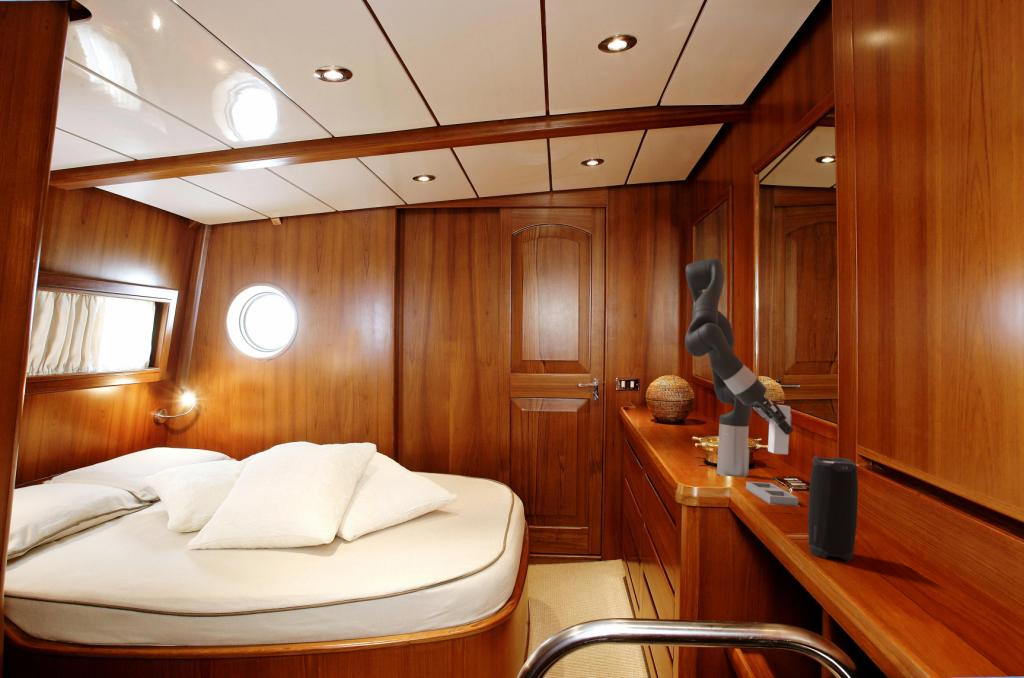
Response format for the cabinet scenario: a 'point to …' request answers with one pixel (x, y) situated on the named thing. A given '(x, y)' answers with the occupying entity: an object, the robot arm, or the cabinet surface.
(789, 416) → the plug
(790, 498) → the panel
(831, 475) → the portable speaker
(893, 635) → the cabinet surface
